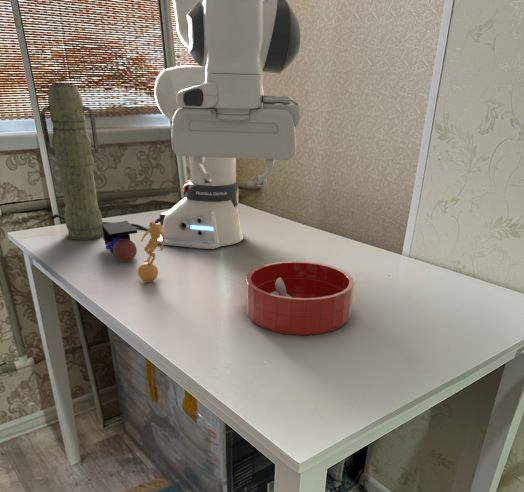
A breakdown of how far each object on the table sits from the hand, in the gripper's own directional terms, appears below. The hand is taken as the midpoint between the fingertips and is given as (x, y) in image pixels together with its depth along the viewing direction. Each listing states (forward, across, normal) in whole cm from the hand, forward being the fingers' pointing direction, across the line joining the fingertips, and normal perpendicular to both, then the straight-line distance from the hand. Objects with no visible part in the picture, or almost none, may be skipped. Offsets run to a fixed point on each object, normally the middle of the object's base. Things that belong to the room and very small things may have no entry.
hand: (234, 185), depth 86 cm
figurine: (+22, +18, -8) cm, 29 cm away
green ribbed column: (+22, +43, -38) cm, 62 cm away
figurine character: (+22, +30, -24) cm, 44 cm away
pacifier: (+20, -10, +6) cm, 23 cm away
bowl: (+21, -12, +5) cm, 24 cm away
